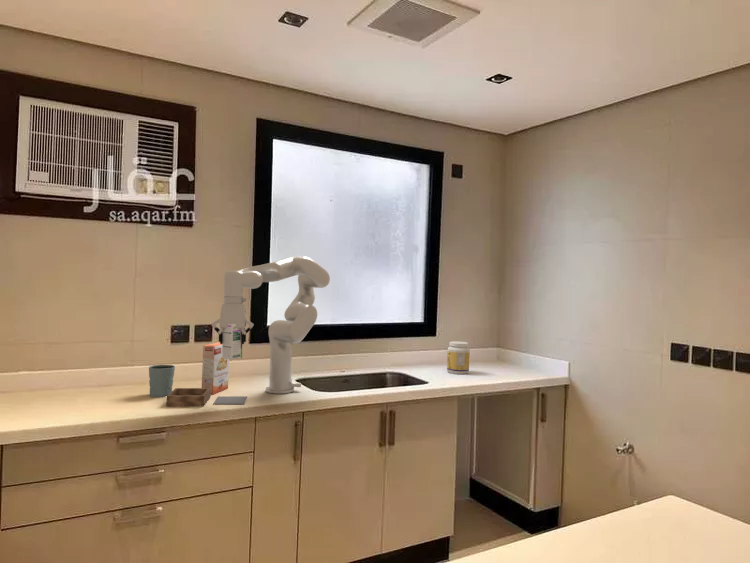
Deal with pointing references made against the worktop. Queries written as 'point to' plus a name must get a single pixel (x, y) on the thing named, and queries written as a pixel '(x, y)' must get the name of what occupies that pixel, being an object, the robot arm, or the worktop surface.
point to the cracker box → (214, 368)
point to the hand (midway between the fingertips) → (232, 343)
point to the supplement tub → (458, 357)
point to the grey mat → (230, 400)
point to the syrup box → (232, 342)
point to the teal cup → (161, 380)
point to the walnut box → (188, 397)
